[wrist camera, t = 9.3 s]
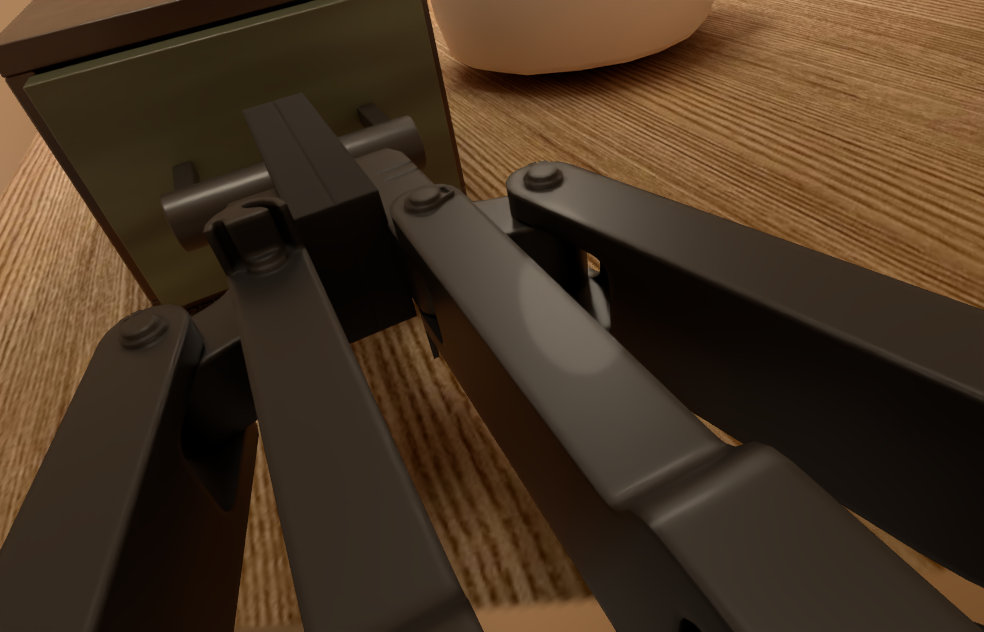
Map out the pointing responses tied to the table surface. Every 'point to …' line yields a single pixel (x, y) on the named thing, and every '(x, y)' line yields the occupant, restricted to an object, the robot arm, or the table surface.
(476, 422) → the table surface
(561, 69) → the pot
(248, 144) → the drawer
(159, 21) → the cabinet
